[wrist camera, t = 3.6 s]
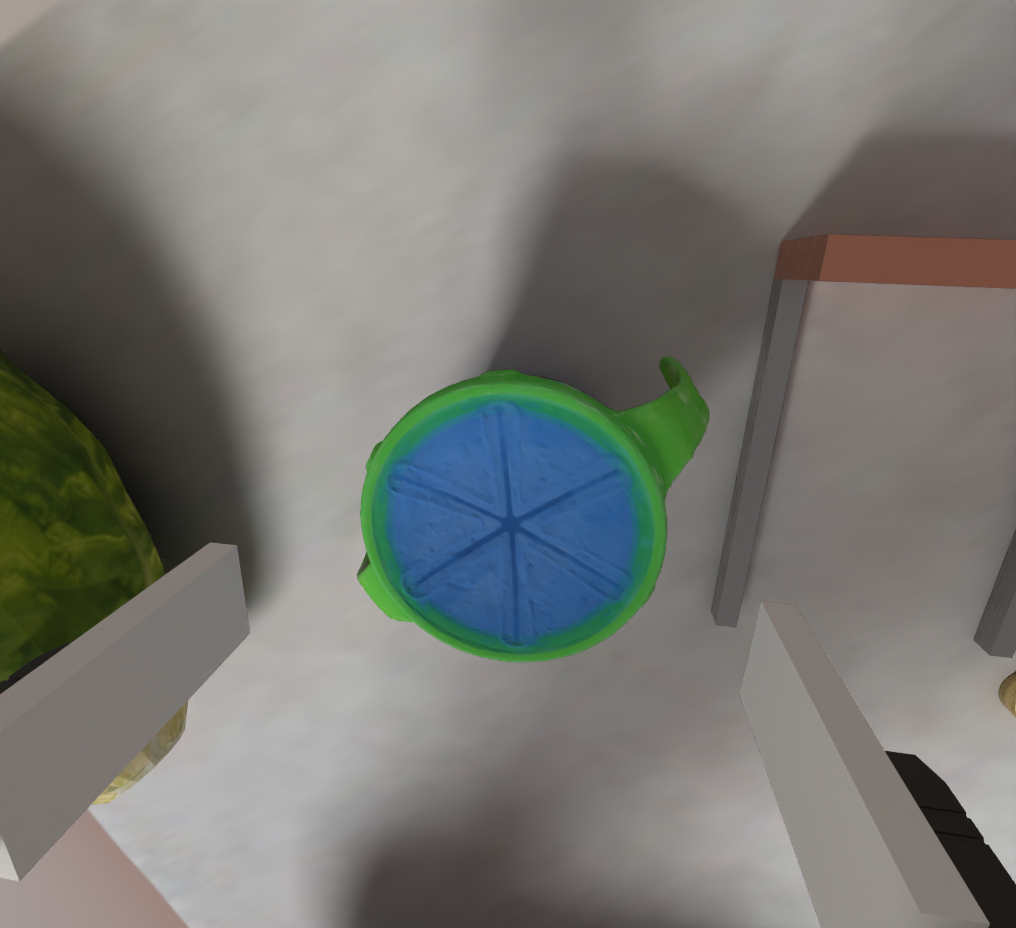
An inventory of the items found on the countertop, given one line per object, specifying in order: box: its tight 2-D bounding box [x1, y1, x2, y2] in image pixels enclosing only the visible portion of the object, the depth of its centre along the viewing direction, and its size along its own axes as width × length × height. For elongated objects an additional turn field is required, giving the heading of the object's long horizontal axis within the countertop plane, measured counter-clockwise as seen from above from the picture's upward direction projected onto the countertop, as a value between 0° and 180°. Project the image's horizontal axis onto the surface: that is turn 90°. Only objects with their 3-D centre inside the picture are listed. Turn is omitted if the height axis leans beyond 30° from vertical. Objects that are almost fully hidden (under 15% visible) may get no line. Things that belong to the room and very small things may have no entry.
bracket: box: [711, 234, 1016, 658], centre depth 23 cm, size 14×18×5 cm
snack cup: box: [357, 356, 709, 662], centre depth 23 cm, size 16×10×10 cm
